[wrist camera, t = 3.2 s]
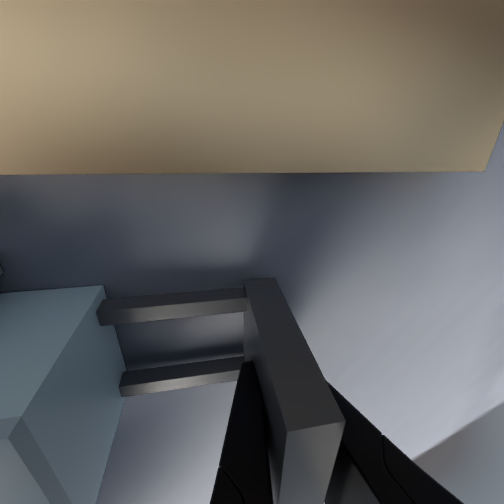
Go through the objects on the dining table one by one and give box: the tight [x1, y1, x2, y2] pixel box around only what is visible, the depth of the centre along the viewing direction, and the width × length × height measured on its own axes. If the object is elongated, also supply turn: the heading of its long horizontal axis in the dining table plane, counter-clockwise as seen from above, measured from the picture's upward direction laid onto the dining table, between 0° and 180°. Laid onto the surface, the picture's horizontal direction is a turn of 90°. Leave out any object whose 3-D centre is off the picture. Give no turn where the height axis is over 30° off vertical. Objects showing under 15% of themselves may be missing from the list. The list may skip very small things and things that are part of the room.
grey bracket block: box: [0, 278, 346, 504], centre depth 7 cm, size 14×5×6 cm, turn 89°
